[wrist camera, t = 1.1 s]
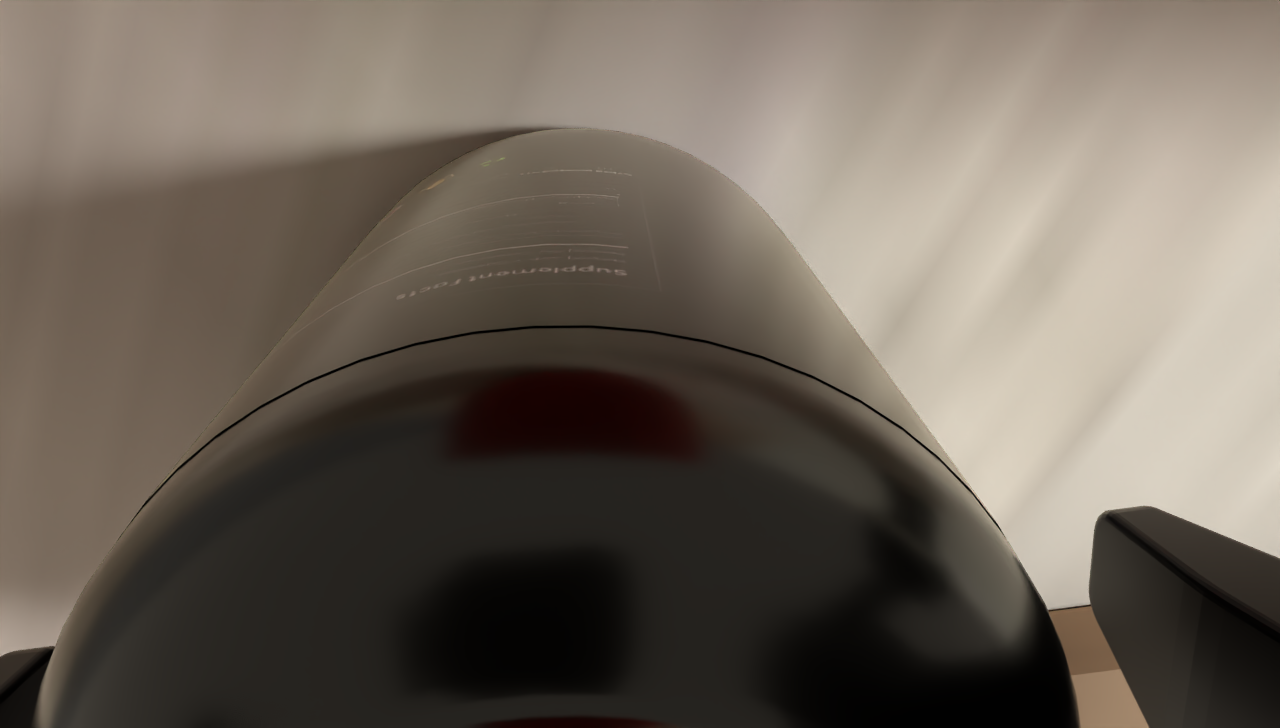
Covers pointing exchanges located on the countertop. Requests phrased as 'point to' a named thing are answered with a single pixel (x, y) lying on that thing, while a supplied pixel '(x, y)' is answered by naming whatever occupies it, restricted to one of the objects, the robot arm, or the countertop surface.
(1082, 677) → the walnut board
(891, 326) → the countertop surface
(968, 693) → the supplement bottle
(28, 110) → the countertop surface
